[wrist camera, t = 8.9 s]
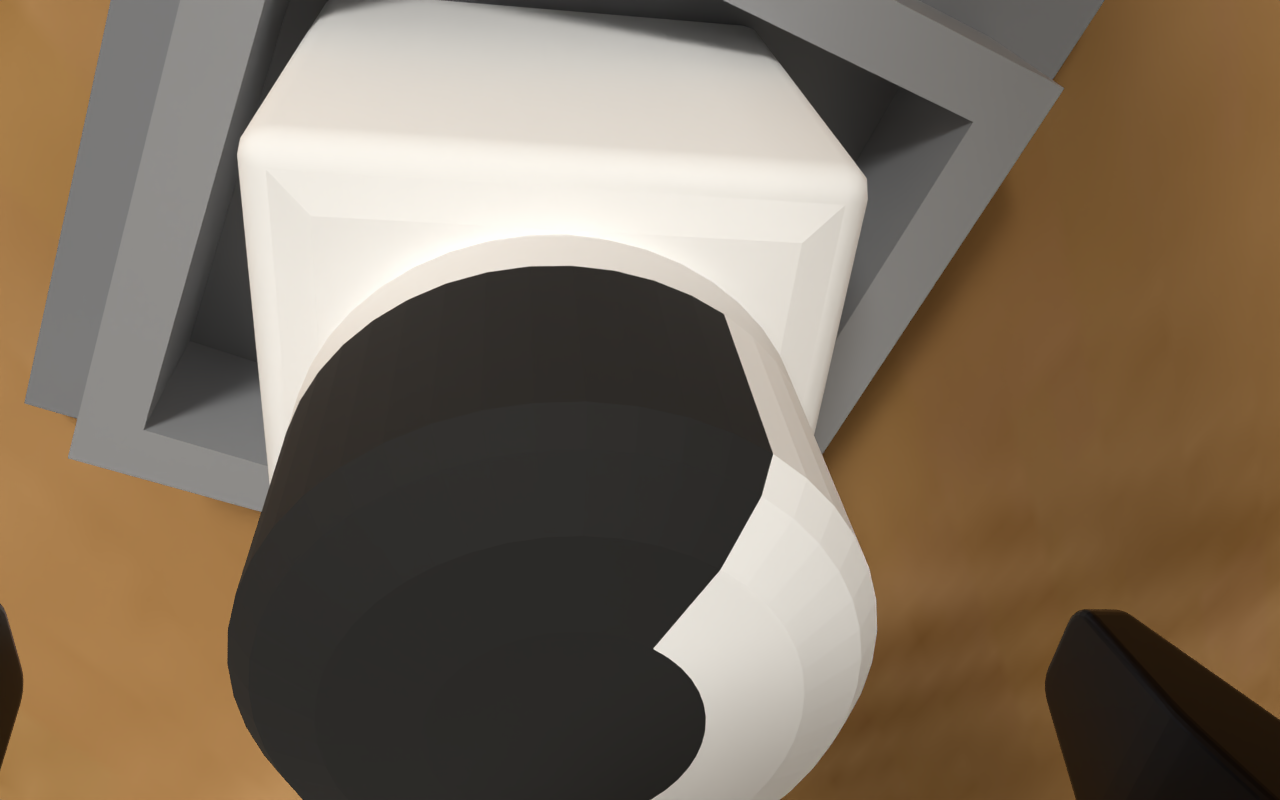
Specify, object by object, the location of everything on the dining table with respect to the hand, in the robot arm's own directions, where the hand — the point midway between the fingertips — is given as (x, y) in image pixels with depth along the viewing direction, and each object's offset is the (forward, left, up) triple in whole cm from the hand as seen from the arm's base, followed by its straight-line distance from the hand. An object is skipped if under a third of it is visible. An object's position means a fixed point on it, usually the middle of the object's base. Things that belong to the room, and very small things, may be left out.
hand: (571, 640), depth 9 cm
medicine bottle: (+1, 0, -12) cm, 12 cm away
